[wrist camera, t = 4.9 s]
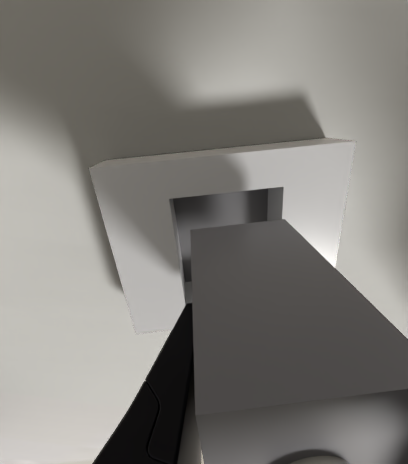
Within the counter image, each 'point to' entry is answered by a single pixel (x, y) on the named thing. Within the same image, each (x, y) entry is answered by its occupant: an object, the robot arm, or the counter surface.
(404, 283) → the counter surface
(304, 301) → the plug
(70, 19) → the counter surface
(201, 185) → the socket
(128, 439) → the robot arm
